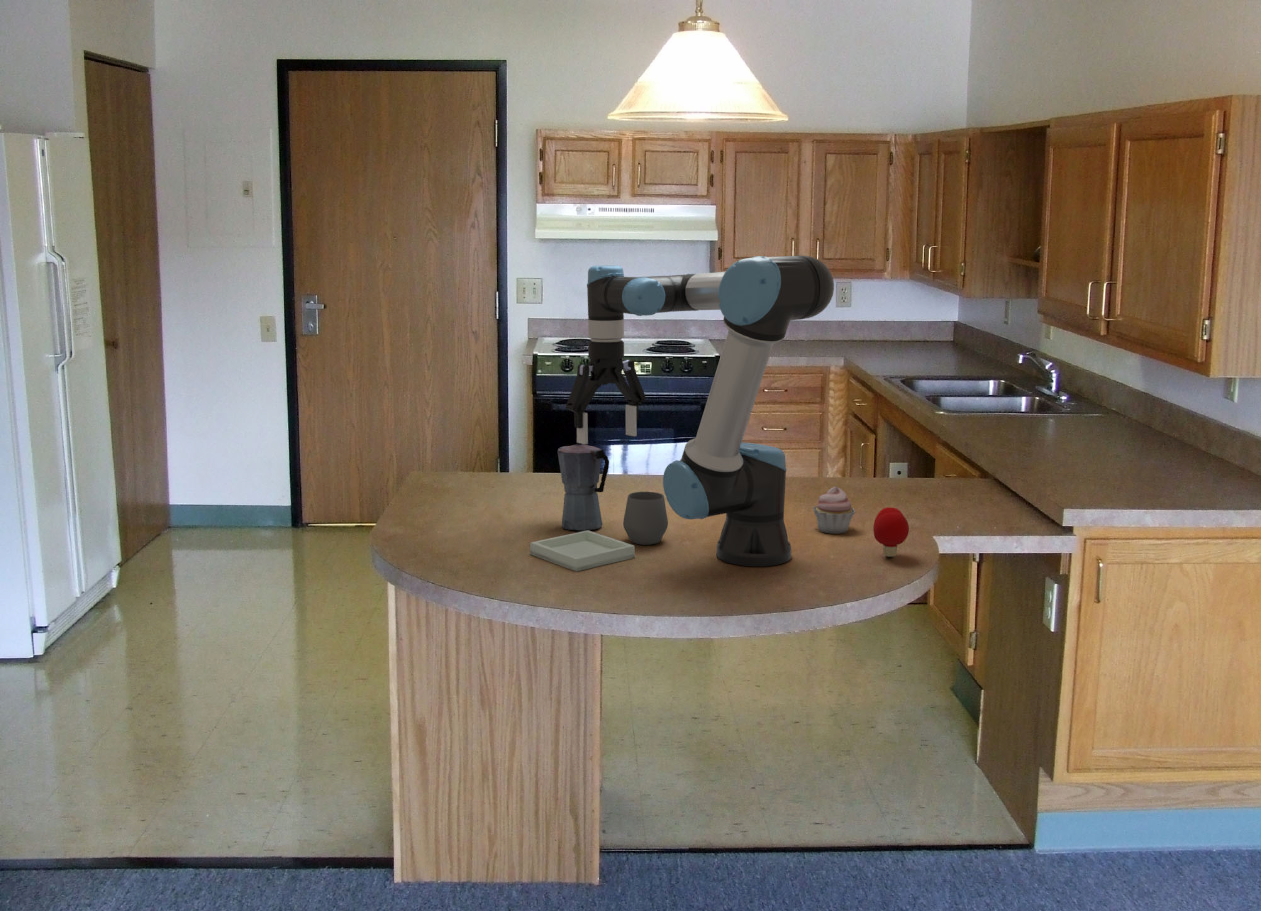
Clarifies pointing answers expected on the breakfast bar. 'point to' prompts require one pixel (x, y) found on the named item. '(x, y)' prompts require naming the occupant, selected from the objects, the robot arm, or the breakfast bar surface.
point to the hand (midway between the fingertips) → (607, 439)
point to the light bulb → (890, 530)
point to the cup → (645, 517)
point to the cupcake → (834, 512)
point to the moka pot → (582, 485)
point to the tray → (582, 550)
